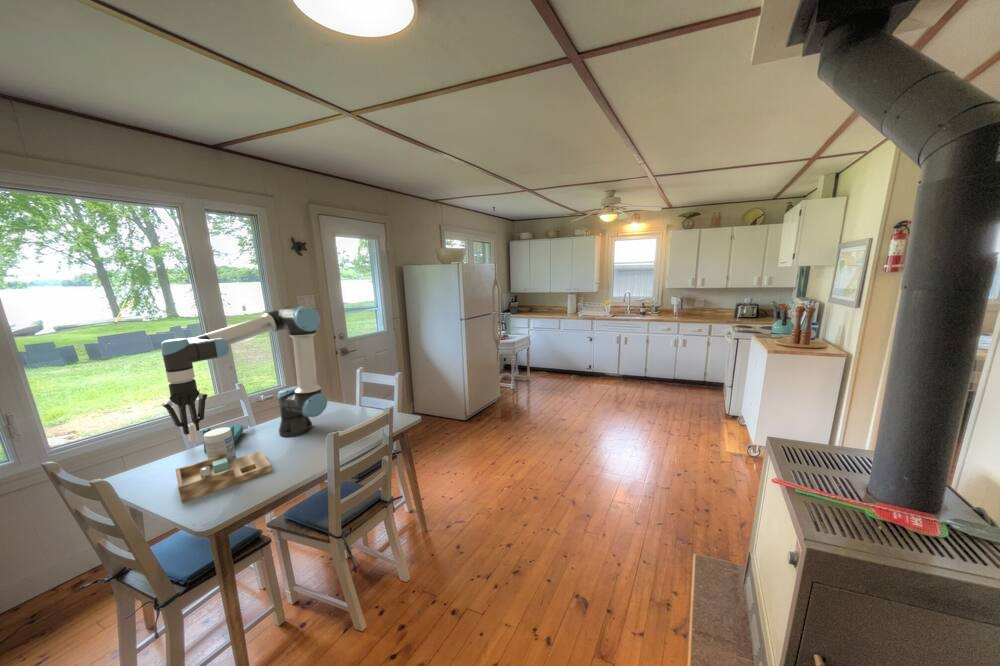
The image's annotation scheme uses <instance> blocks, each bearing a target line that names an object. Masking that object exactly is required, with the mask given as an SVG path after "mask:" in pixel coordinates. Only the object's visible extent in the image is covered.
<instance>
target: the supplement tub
mask: <svg viewBox="0 0 1000 666" xmlns="http://www.w3.org/2000/svg"><path fill="white" fill-rule="evenodd" d="M223 427H224V428H218V429H216V428H214V429H212V430H211V429H210V430H211V431H209V432H207V433H205V434H204V439H203V444H204V443H205V448H206V452H205V453H206V458H207V460H208V459H211V458H214V457H217V456H221V455H224V454H226V455H227V460H228V461H231V460H234V459H237V454H236V448H235V444H234V442H233V436H232V431H231V428H228V427H225V426H223Z"/></svg>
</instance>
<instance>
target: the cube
mask: <svg viewBox="0 0 1000 666" xmlns="http://www.w3.org/2000/svg"><path fill="white" fill-rule="evenodd" d="M212 464H213V470H214V474H217V473H220V472H223V471H226V470H229V465H228V461H227V459H226V458H224V459H220V460H217V461H214V462H212Z"/></svg>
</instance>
